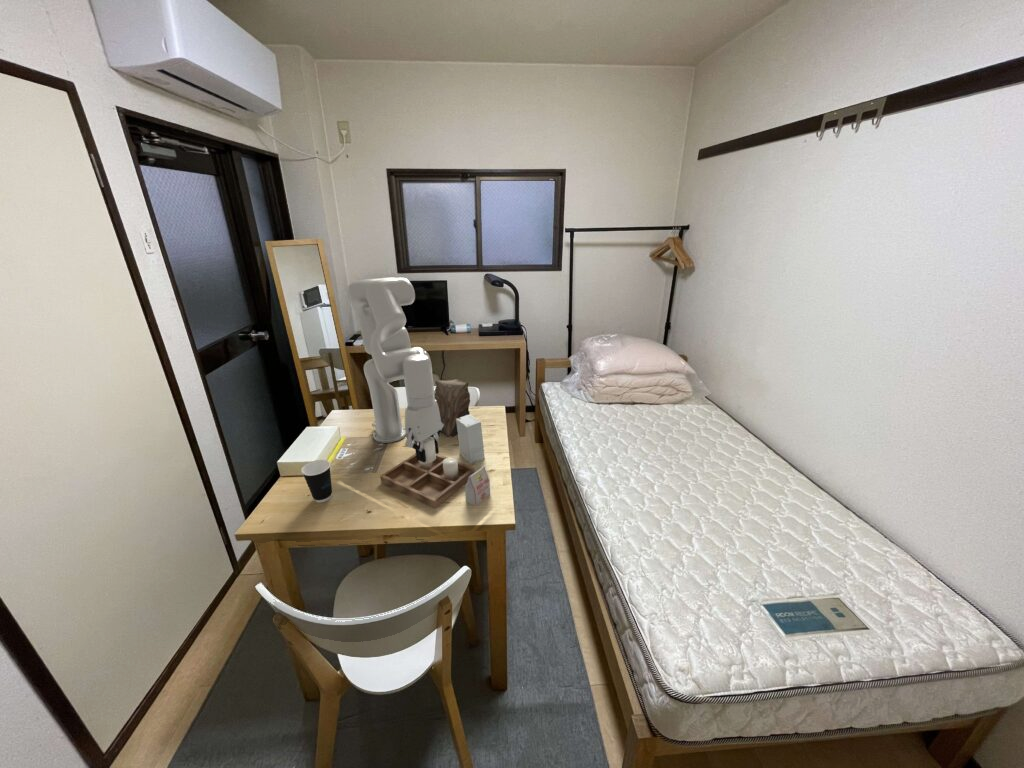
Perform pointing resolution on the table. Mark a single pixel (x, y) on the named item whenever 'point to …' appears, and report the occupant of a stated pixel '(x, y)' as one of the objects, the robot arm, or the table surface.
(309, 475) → the dixie cup
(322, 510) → the table surface
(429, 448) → the egg
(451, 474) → the egg right
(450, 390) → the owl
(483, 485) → the milk carton
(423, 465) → the egg left
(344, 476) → the table surface
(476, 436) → the skincare box
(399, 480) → the rack
